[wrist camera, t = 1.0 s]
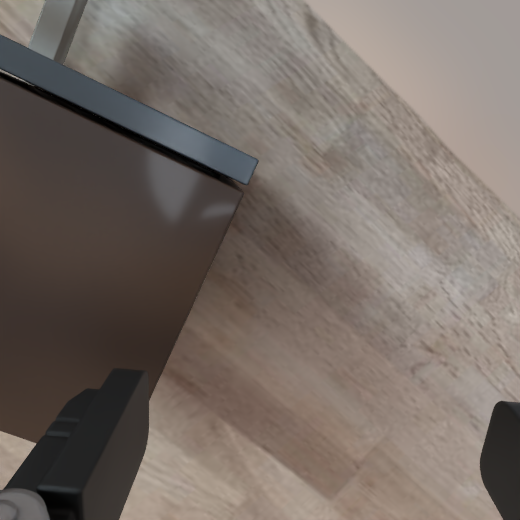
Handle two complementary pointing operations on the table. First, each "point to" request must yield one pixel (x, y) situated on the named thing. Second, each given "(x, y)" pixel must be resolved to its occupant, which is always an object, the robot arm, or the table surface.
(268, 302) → the table surface
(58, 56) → the door
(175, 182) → the cupboard
